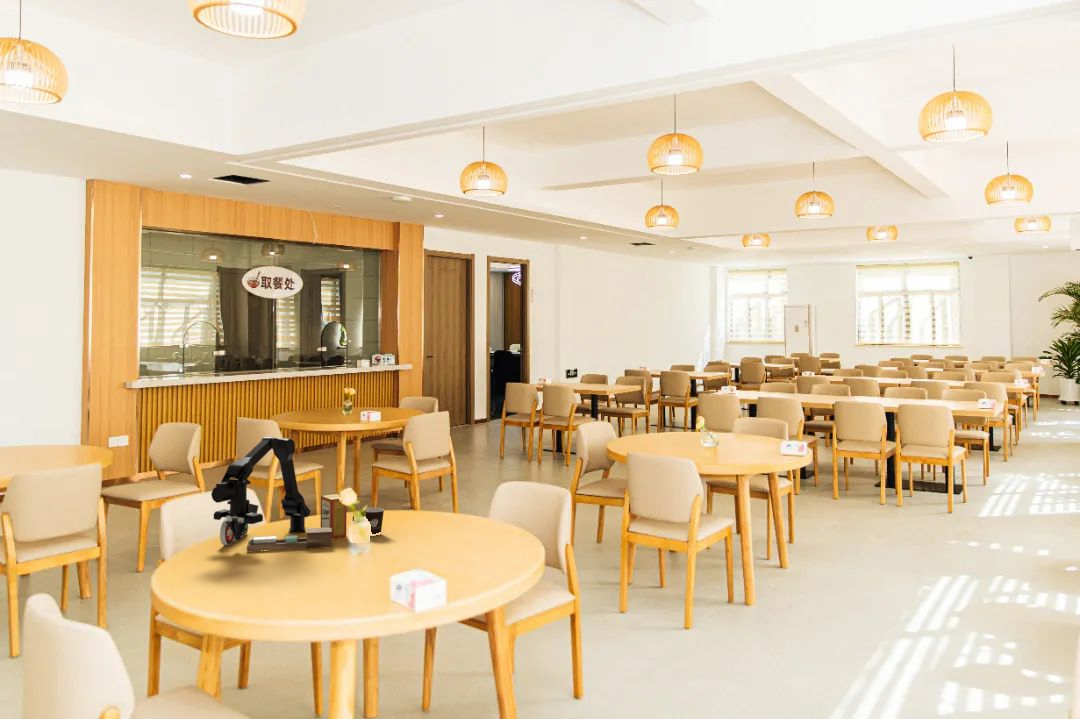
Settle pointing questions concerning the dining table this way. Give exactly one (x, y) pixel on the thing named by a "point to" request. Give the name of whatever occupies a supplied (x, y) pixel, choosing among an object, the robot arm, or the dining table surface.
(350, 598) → the dining table surface
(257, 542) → the grey rectangular block
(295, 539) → the teal cube block
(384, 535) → the dining table surface
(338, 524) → the baking soda box
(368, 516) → the coffee mug
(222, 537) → the sign
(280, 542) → the housing
